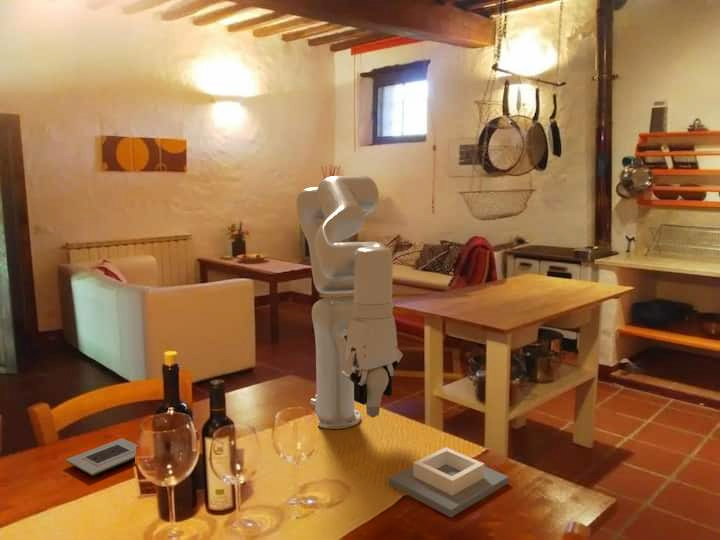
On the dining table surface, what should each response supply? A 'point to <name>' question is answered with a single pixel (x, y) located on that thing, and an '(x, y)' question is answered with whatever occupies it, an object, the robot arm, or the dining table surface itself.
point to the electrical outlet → (104, 457)
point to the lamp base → (448, 481)
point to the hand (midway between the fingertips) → (373, 397)
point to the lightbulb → (375, 389)
